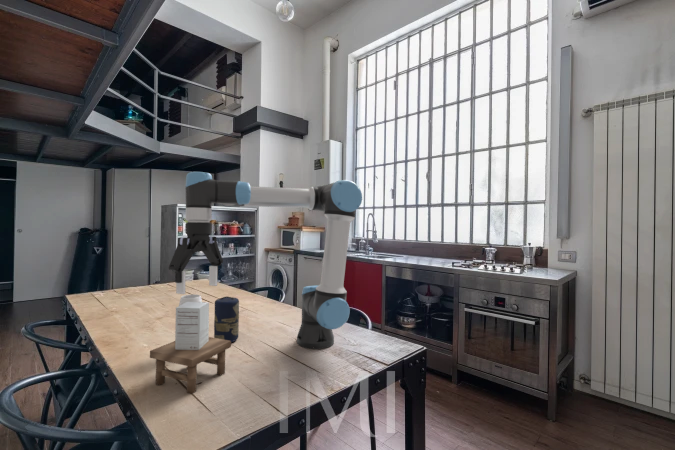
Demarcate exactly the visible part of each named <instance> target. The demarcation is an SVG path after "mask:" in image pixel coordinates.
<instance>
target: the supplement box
mask: <svg viewBox="0 0 675 450" xmlns="http://www.w3.org/2000/svg"><path fill="white" fill-rule="evenodd" d="M209 317H210V302H208V301H202V302H186V303H184V304H182V305H180V306H179V305H178V306H176V307H175V329H174V330H175V331H174V333H175V334H174V335H175V338H174V339H175V340H174V341H175V349H176V350H199V349H201V348H202V347H203V346H204V345H205V344H206V343H207V342H208V341H209V340H208V339H209V337H210V335H209V324H210V323H209V322H210V321H209V320H210V318H209Z"/></svg>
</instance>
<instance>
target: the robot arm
mask: <svg viewBox="0 0 675 450" xmlns="http://www.w3.org/2000/svg"><path fill="white" fill-rule="evenodd" d="M185 177H186V178H185V221H187V222H185V226H184V227H185V232H184V233H185V234H186V235H187V236H186V237H179V238H178V239H177V246H176V249H175V250H174V253H173V256H172V258H171V261H170V263H169V266H168V270H170V271H172V272H174V282H175V285H176V286H175V287H176V289H175V291H176V293H175V294H178V295H186V278H187V277H186V271H184V270H185V269H186V266H187V265H188V263H189V261H190V260H191V259H192V257H193V255H194V254H196V252H197V253H198V252H202V253H203V254H204V256H205V257H206V258H207V261H208V262H209V264H210V265H209V267H208V269H209V271H208V275H209V276H208V278H209V279H208V281H209V282H208V286H210V287H211V286H212V287H217V286H218V275H219V266H222V264H223V262H224V259H223V257H222V254H221V251H220V248H219V245H218V242H217V240H218V239H217V236H210V235H211V234H212V223H211V222H210V221H212V220H213V219H212V215H213V214H212V207H213V206H212V205H213V204H221V205H222V206H224V207H229V208H230V207H261V208H262V207H263V208H264V207H265V208H266V207H267V208H269V207H271V208H307V210H309V211H318V212H319V211H320V212H324V213H323V215H324V217H325V218H326V220H327V223H326V230H325V232H326V233H325V240H324V249H323V250H324V251H323V259H322V266H321V267H322V268H321V275H320V277H321V278H320V283H319V284H318V285H307V286H304V287H303V288H302V292H301V322H300V323H301V324H300V326H299V330H298V333H297V336H296V344H297V345H298V346H299V347H302V348H304V349H311V350H319V349H326V348H330V347H331V346H333V345H334V344H335V336H334V332H333V330H337V329H340V328H341V327H342V326H343V325H344V324H345V325H346V323H347V322H348V320H349V317H350V311H351V309H350V306H349V304H348V302H347V294H348V292H347V290H346V288H345V287H344V285H345V284H344V283H345V282H344V281H345V275H346V274H345V273H346V264H347V255H348V249H349V246H348V245H349V240H350V239H349V238H350V237H349V236H350V231H351V229H350V228H351V222H353V221H354V220H355V219H356V214H357V213H356V211H357V210H358V209H359V208H360V206H361V204H362V200H363V193H362V191H361V188H360V187H359V186H358V184H356V183H355V182H354V181H352V180H349V179H343V180H342V179H340V180H338V181H335V182H332V183H329V184H324V185H318V186H313V185H312V186H308V188H297V187H295V188H294V187H275V186H274V187H273V186H272V187H271V186H253V185H250V182H248V181H247V182H246V181H241V180H219V179H218V180H217V179H213V176H212V174H211V173H209V172H203V171H190V172H188V173H187V174H186V176H185Z"/></svg>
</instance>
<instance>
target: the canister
mask: <svg viewBox="0 0 675 450" xmlns="http://www.w3.org/2000/svg"><path fill="white" fill-rule="evenodd" d="M213 321H214V322H213V333H214V334H213V338H218V339H223V340H229V341H231V343H232V342H235V341H237V340H238V339H239V333H240V332H239V328H240V326H239V325H240V323H239V321H240V300H239V298H237V297H234V296H233V297H232V296H222V297H221V298H218V299H216V300H215V301H214V320H213Z"/></svg>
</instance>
